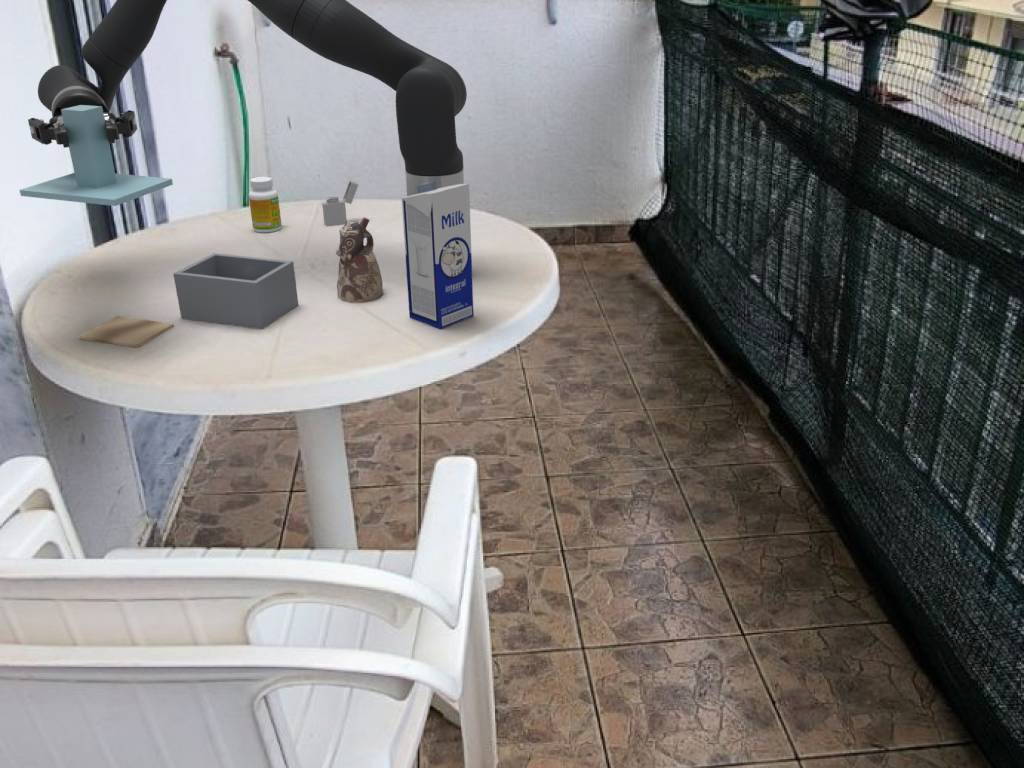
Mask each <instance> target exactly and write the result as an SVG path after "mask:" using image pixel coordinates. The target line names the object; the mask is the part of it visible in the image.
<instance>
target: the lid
mask: <svg viewBox="0 0 1024 768" xmlns="http://www.w3.org/2000/svg"><path fill="white" fill-rule="evenodd" d="M61 112H62V117H63V122H64V126H65V129H66V133H67V138H68V143H69V147H68V148H69V149H68V150H69V154H70V159H71V164H72V168H73V172H72V173H70V174H69V173H68V174H66V175H63V176H60V177H56V178H54V179H50V180H47V181H44V182H41V183H40V182H39V183H37V184H34V185H31V186H27V187H25V188H21V189H19V193H20V197H27V198H28V197H29V198H38V199H45V200H46V199H47V200H57V201H64V202H65V201H66V202H72V203H73V202H75V203H82V204H83V203H84V204H85V203H86V204H94V205H103V206H111V207H116V206H119V205H122V204H125V203H127V202H130V201H133V200H135V199H137V198H141V197H144V196H146V195H148V194H149V195H150V194H151V193H154V192H156V191H159V190H162V189H165V188H168V187H170V186H173V185H174V183H173V179H172V178H170V177H169V178H168V177H155V176H146V175H135V174H124V173H116V172H115V166H114V161H113V156H112V150H111V145H110V144H109V141H108V137H107V132H106V127H105V119H104V114H103V109H102V106H89V105H78V106H74V107H70V108H65V109H61Z"/></svg>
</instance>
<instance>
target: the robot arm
mask: <svg viewBox="0 0 1024 768" xmlns="http://www.w3.org/2000/svg"><path fill="white" fill-rule="evenodd" d="M167 1H168V0H115V2H114V3H113V5H112V6H111V8H110V9H109V11H108V12H107V13H106V14H105V16H104V17H103V19H102V20H101V21H100V23H99V24H98V25H97V26H96V28H95V29H94V31H92V33H91V34H90V36H89V37H88V38H87V40H85V42H84V44H83V45H82V47H81V50H80V51H81V52H80V54H81V57H82V58H83V60H84V61H85V62H86V64H87V65H89V67H90V68H91V69H92V70H93V71H94V73H95V74H97V76H98V77H99V79H100V80H99V81H100V85H99V86H96V85H95V84H94V83H93V82H91V81H90V80H89V79H87V78H86V77H84V76H83V75H81V73H79V72H77V70H75V69H73V68H71V67H69V66H67V65H64V64H62V65H60V64H59V65H54V66H53V67H50V68H48V70H46V71H45V72H44V74H43V75H42V76H41V77H40V80H39V83H38V87H37V96H38V99H39V101H40V103H41V104H42V105H43V107H45V108H46V109H47V110H48V111H50V112H51V117H50V119H49V120H48V121H49V122H44V119H43V118H42V119H39V118H35V117H31V118H29V119H27V122H28V126H29V130H30V134H31V138H32V139H33V140H35V141H37V142H39V143H40V144H41V145H46V146H47V145H50V144H52V143H53V141H56V145H62V146H63V148H69V143H68V138H67V133H66V129H65V126H64V122H63V117H62V112H61V109H65V108H70V107H74V106H78V105H89V106H102V109H103V114H104V119H105V127H106V132H107V137H108V141H109V145H110V144H115V143H116V141H117V140H119V139H120V138H121V137H120V135H122V137H123V138H125V139H126V138H128V139H129V138H130V137H132V136H133V135H134V134H135V133H136V132H137V130H138V124H137V120H136V114H135V110H132V109H131V110H130V109H129V110H127V111H124V112H121V113H120V116H116V115H115V113H112V112H111V109H112V105H113V102H114V99H115V96H116V94H117V92H118V89H119V87H120V85H121V82H122V81H123V79H124V78H125V76H126V75H127V73H128V72H129V71H130V69H131V68H132V67H133V66H134V64H135V62H136V61H137V60H138V59H139V58H140V56H141V55H142V54H143V52H144V51H145V49H146V48H147V46H148V45H149V44H150V42H151V39H152V38H153V36H154V33H155V31H156V29H157V26H158V23H159V20H160V17H161V14H162V12H163V10H164V8H165V5H166V3H167ZM247 1H248V2H249V3H250V4H251V5H253V6H254V7H255V8H256V9H257V10H259V11H260V13H261V14H263V16H265V17H266V18H267V19H268V20H269V21H270V22H271V23H272V24H273V25H275V26H276V27H277V28H279V29H280V30H281V31H282V32H284V34H286V35H288V36H289V37H290V38H292V39H294V40H295V41H297V42H298V43H299V44H300V45H302V46H304V47H305V48H307V49H308V50H310V51H312V53H315V54H317V55H319V56H320V57H322V58H324V59H326V60H328V61H331V62H333V63H335V64H338V65H341V66H343V67H346V68H350V69H352V70H353V71H354V70H355V71H358V72H361V73H363V74H366V75H369V76H371V77H373V78H375V79H377V80H378V81H380V82H382V83H383V84H385V85H387V86H388V87H389V88H391V89H392V90H393V91H395V112H396V113H395V114H396V115H395V117H396V124H397V125H396V127H397V135H398V144H399V150H400V153H401V156H402V158H403V162H404V168H405V184H406V185H405V186H406V197H407V196H411V195H415V194H418V191H417V187H416V186H418V185H422V184H425V183H430V182H435V181H436V185H437V189H438V188H443V187H448V186H452V185H457V184H465V181H464V180H465V178H464V174H465V173H464V156H463V152H462V150H461V149H460V148H459V145H458V143H457V133H456V132H457V131H456V117H457V116H458V114H460V113H461V111H462V110H463V109H464V107H465V105H466V102H467V97H468V96H467V95H468V93H467V88H466V84H465V81H464V79H463V77H462V76H461V74H460V73H459V72H458V71H457V70H456V69H455V68H454V67H453V66H451V65H450V64H449V63H447V62H445V61H443V60H441V59H439V58H437V57H436V56H433V55H431V54H430V53H427V52H425V51H423V50H422V49H420V48H418V47H416V46H414V45H412V44H410V43H409V42H407V41H405V40H403V39H401V38H400V37H398V36H396V34H393V33H392V31H390V30H388V29H387V28H385V27H384V26H383V25H382V24H380V22H378V21H377V20H374V18H372V17H370V16H369V15H368V14H366V13H365V12H363V11H361V10H360V9H359V8H358V7H356V6H355V5H353V4H352V3H351V2H350V1H348V0H247ZM115 140H116V141H115Z"/></svg>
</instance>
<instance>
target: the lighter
mask: <svg viewBox="0 0 1024 768" xmlns="http://www.w3.org/2000/svg"><path fill="white" fill-rule="evenodd" d="M358 187H359V184H358V183H357V182H356V181H353V180H349V181H348V183H347V188H346V189H345V192H344V195H343V198H342V199H339V197H338V195H337V196H329V197H328V198H326V200H325V201H326V202H322V203H321V206H322V215H323V224H324V226H325V225H326V227H333V225H334V226H339V225H340V224H341V225H345V224H346V223H347V222H348V219H347V210H346V203H347V204H350V205H352V203H353V201H354V197H355V195H356V192H357V189H358ZM341 225H340V226H341Z"/></svg>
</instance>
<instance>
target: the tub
mask: <svg viewBox="0 0 1024 768" xmlns="http://www.w3.org/2000/svg"><path fill="white" fill-rule="evenodd" d="M173 279H174V286H175V291H176V296H177V302H178V307H179V312H180V318H181V319H186V320H191V321H192V320H193V321H199V322H208V323H215V324H221V325H229V326H235V327H236V326H237V327H245V328H254V329H258V330H259V329H261V330H263V329H264V328H266V327H268V326H269V325H270V324H272V323H273V322H275V321H277V320H278V319H279V318H281V317H283V316H284V315H286V314H287V313H288V312H290V311H292V310H293V309H294V308H296V307H298V306H299V298H298V290H297V280H296V274H295V265H294V261H292V260H283V259H275V258H273V259H272V258H266V257H265V258H263V257H253V256H244V255H235V254H226V253H215V252H213V253H211V254H209V255H207V256H205V257H204V258H202V259H199V260H198V261H195V262H194V263H192V264H190V265H188V266H185V267H184V268H182V269H179V270H177V271H176V272H173Z"/></svg>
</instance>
